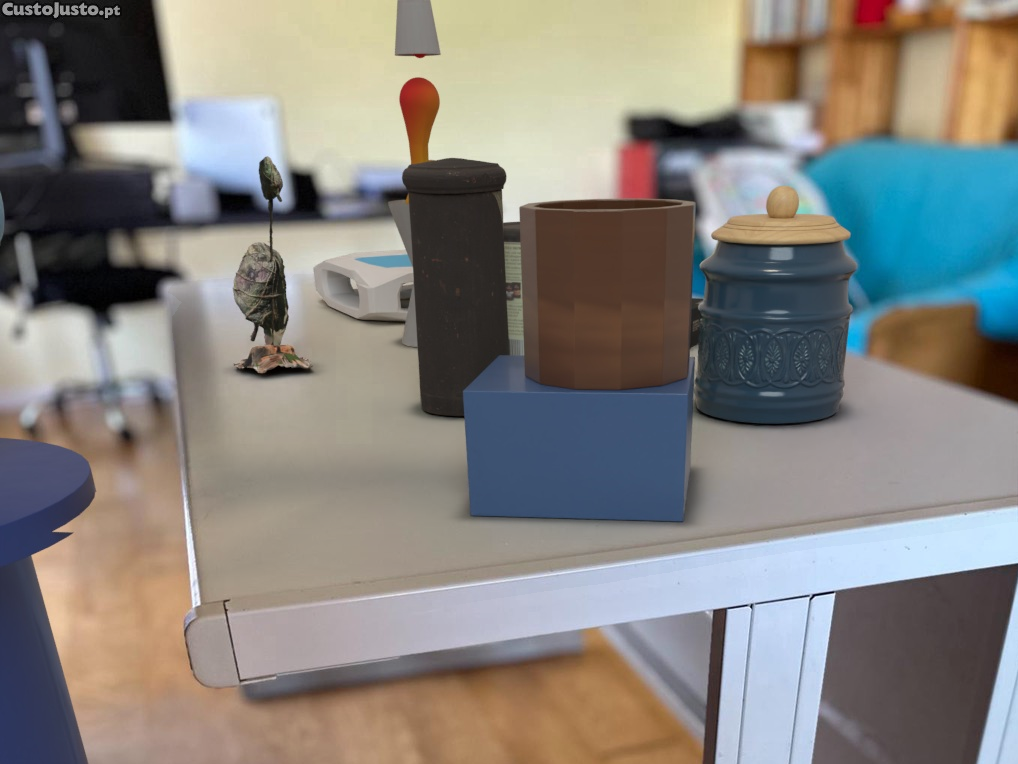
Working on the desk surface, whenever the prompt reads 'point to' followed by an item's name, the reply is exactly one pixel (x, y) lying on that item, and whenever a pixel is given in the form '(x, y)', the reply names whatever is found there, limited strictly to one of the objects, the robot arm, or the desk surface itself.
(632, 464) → the peg box
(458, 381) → the container
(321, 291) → the white boxy piece
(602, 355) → the brown pot
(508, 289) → the coffee can
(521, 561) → the desk surface
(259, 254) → the plant with pod
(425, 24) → the lava lamp
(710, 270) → the canister
